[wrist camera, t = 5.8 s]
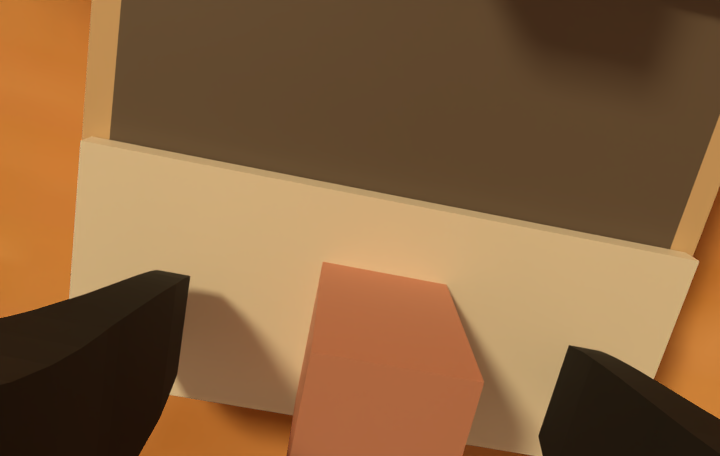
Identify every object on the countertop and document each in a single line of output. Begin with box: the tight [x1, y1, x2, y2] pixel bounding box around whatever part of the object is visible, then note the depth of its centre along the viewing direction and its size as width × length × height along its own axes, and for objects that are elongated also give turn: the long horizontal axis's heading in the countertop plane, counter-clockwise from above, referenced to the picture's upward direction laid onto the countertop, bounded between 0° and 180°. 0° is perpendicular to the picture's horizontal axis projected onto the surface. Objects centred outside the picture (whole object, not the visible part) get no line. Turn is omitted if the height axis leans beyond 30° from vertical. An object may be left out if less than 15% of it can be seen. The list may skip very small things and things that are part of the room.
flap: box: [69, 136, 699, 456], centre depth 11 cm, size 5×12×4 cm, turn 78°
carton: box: [82, 0, 720, 257], centre depth 14 cm, size 10×12×4 cm
